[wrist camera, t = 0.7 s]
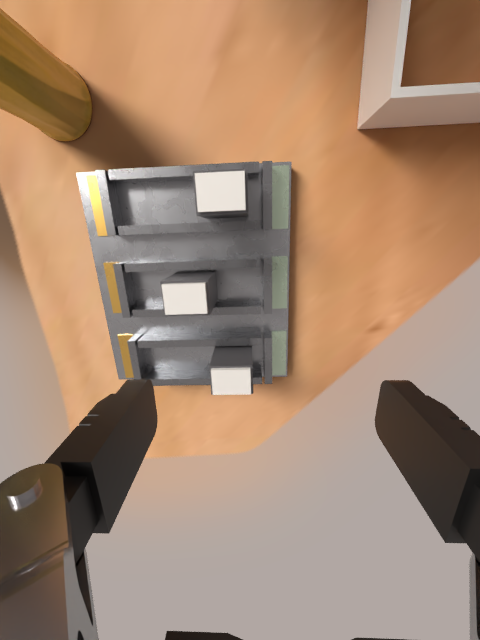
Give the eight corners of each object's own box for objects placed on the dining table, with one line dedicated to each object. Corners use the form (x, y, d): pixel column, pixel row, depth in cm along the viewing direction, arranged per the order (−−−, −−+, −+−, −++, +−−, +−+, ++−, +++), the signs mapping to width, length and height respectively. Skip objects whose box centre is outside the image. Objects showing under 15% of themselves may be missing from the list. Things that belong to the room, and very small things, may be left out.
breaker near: (204, 184, 25) (191, 170, 19) (247, 182, 24) (247, 167, 19) (207, 218, 26) (195, 214, 20) (248, 216, 25) (248, 212, 20)
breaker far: (216, 342, 30) (208, 368, 24) (251, 341, 30) (252, 367, 24) (217, 366, 31) (210, 396, 25) (252, 366, 30) (253, 396, 25)
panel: (85, 175, 26) (61, 167, 23) (289, 165, 25) (295, 155, 22) (124, 372, 33) (110, 388, 30) (285, 370, 32) (289, 385, 29)
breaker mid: (177, 271, 27) (158, 282, 22) (215, 270, 27) (207, 280, 22) (180, 300, 28) (163, 317, 23) (217, 299, 28) (209, 315, 22)
